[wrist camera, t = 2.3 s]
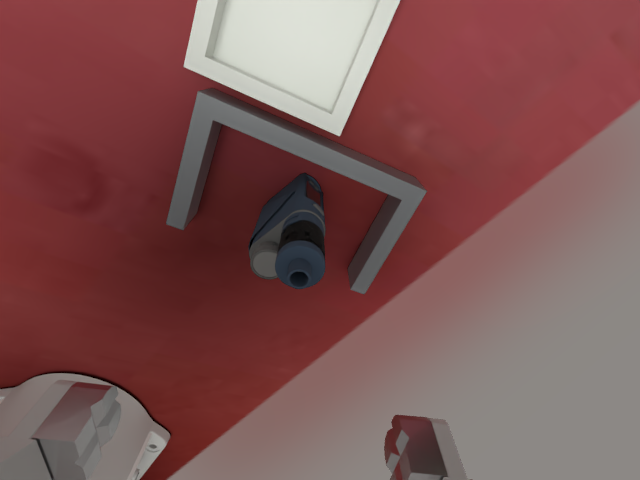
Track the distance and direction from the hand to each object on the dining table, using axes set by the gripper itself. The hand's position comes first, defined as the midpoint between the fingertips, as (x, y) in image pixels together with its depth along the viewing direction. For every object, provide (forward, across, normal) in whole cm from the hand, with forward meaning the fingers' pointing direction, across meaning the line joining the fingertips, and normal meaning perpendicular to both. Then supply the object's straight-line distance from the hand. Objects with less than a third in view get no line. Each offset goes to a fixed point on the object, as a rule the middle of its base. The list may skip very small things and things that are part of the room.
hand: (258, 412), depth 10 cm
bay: (+18, 0, 0) cm, 18 cm away
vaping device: (+18, 0, 0) cm, 18 cm away
